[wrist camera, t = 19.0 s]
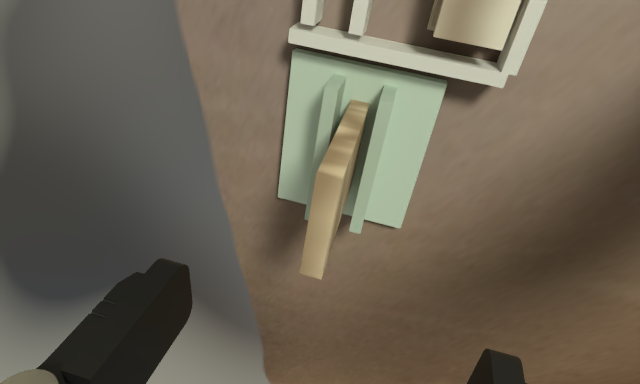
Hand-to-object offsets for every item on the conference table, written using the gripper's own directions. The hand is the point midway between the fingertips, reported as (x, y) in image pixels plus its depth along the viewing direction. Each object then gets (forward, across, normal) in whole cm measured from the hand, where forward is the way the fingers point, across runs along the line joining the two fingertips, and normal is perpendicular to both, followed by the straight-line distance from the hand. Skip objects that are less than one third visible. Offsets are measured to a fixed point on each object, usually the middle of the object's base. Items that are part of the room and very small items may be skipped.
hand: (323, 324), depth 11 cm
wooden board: (+24, +3, +7) cm, 26 cm away
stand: (+25, +3, +7) cm, 27 cm away
